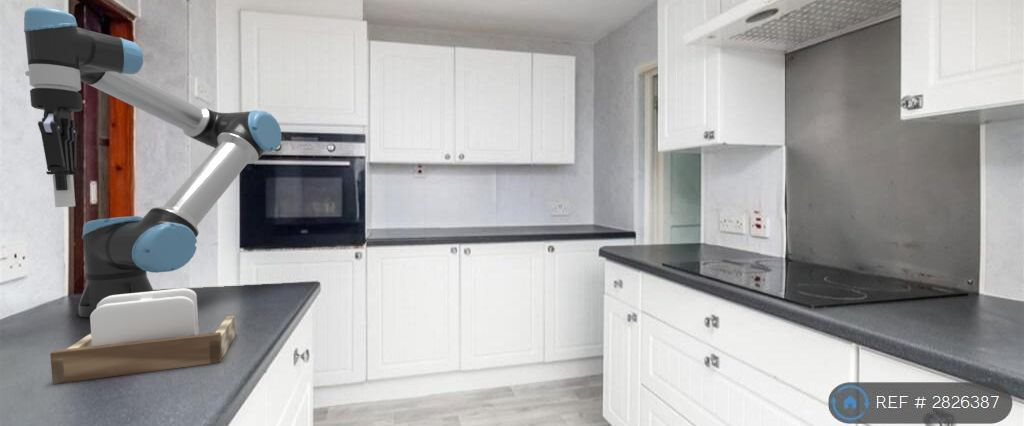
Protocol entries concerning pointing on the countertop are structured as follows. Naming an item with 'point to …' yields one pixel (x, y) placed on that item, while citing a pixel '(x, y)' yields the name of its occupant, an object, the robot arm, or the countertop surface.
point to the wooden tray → (140, 355)
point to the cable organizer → (144, 316)
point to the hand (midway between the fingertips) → (65, 206)
